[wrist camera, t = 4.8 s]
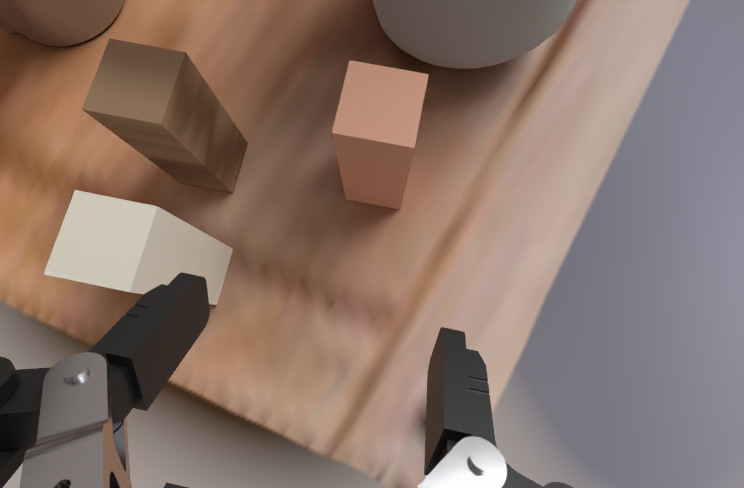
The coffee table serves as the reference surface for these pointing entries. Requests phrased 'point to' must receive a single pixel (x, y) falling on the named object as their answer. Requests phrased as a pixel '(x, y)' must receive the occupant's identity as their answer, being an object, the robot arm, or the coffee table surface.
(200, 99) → the walnut pillar
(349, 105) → the terracotta pillar
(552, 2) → the jar
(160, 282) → the cream pillar
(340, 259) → the coffee table surface
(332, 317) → the coffee table surface
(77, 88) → the coffee table surface
